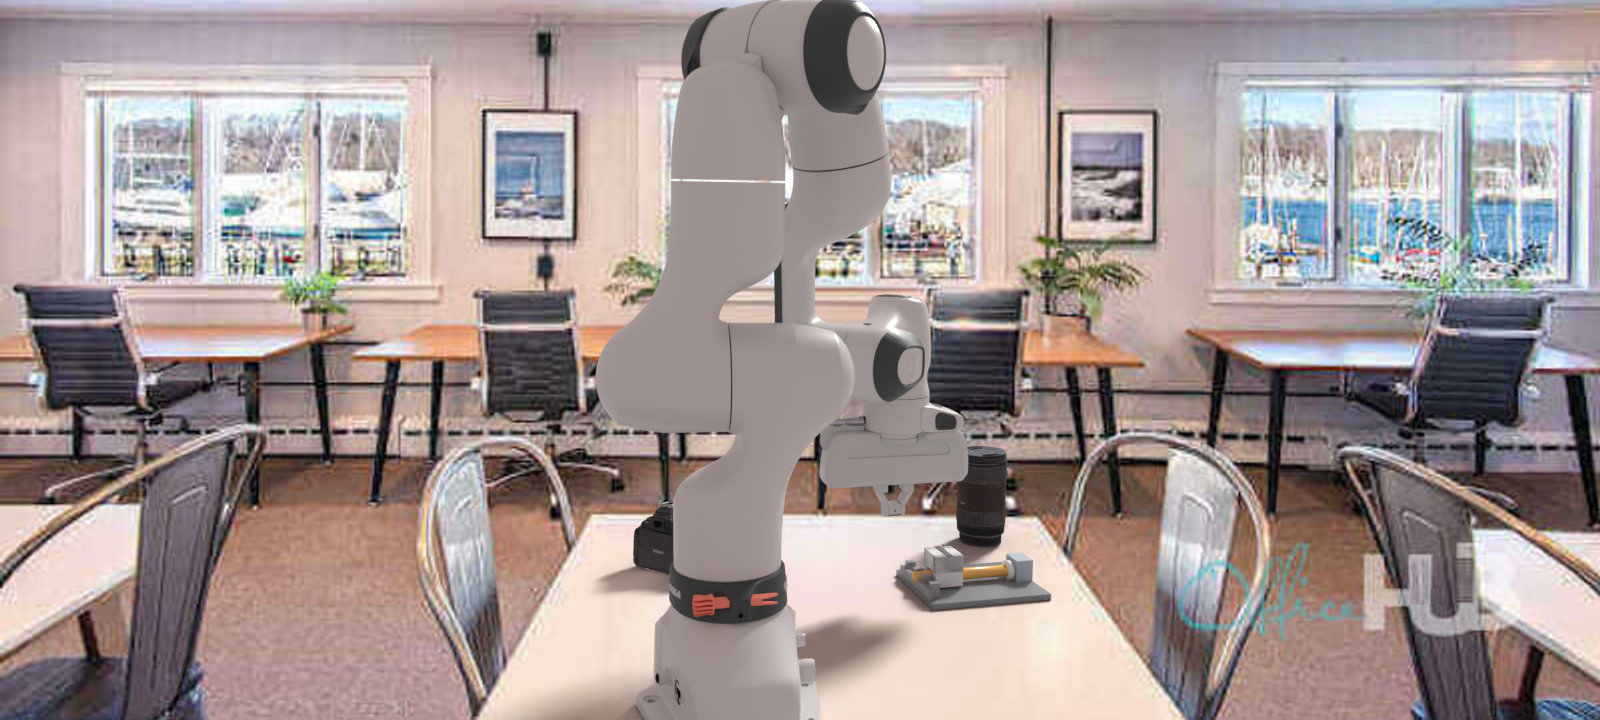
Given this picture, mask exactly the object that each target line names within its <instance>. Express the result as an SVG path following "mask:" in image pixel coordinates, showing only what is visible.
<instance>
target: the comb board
mask: <svg viewBox="0 0 1600 720" xmlns="http://www.w3.org/2000/svg"><path fill="white" fill-rule="evenodd" d="M916 565H917V562H916V560H914V559H906V560H905V563H904V564H900V569H896V570H895V571H896V574H895V575H896V576H897V578H899V580H901V582H903V583H904V584H905V585H906V586H907V587H908V588H909V589H910V590H911V591H912V592H913V593H914V594H915V595H916V596H917V597H919V599H920V600H921V601H923V602H924V604H926V605H927V607H929V608H930V609H931V610H932V611H939V610H951V609H961V608H973V607H982V606H983V607H985V606H993V605H995V606H996V605H1006V604H1009V605H1010V604H1017V603H1019V604H1020V603H1028V602H1029V603H1030V602H1031V601H1032V602H1039V601H1038V600H1043V601H1046V600H1045V599H1051V600H1052V593H1050V592H1049V591H1048V590H1046V589H1045V588H1044V587H1042V586H1040V585H1039V584H1037V583H1036V582H1034V581H1033V574H1034V572H1033V571H1034V560H1033V559H1032V558H1030V557H1029V556H1027V554H1024V553H1023V552H1014V553H1006V556H1005V560H1002V561H993V562H984V563H983V562H981V563H967V564H963V586H956V587H944V588H940V583H939V582H938V581H933V571H932V570H929V571H924V567H922V566H916Z"/></svg>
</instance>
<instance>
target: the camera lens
mask: <svg viewBox="0 0 1600 720" xmlns="http://www.w3.org/2000/svg"><path fill="white" fill-rule="evenodd" d="M967 450H968V473H967V475H966V476H965V478H964V479H963V480H962V481H956V483H957V484H956V486H957V487H956V488H957V492H956V494H957V495H956V506H955V507H956V511H955V512H956V513H955V516H956V517H955V520H956V529H957V532H958V535H959V536H958V538H959V541H960V542H962V543H964V544H966V545H971V546H976V547H977V546H978V547H993V546H997V545H1000V544H1001V543H1002V535H1003V534H1004V533H1005V526H1006V513H1007V511H1006V510H1007V509H1006V493H1007V492H1006V491H1007V481H1008V457H1007V451H1006V450H1005V449H1003V448H1001V447H997V446H990V445H969V446H967Z"/></svg>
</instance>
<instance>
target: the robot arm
mask: <svg viewBox="0 0 1600 720" xmlns="http://www.w3.org/2000/svg"><path fill="white" fill-rule="evenodd" d="M885 40H886V39H885V36H884V32H883V29H882V26H881V24H880V23H879V21H878V19H877V18H876V17H875V16H874V14H873V13H872V12H871V10H870V9H869V8H868V7H867V5H865V4H864V3H863V2H860V1H857V0H762V1H757V2H756V1H755V2H752V3H746V4H743V5H738V6H735V7H728V6H725V7H720V8H717V9H713V10H711V11H709V12H707V13H705V14H703V15H701V16H700V17H698V18H697V19H695V20H694V21H693V22H692V24H691V25H690V27H689V28H688V30H687V33H686V35H685V38H684V41H683V44H682V49H681V55H680V57H681V58H680V63H681V65H680V66H681V74H682V77H683V78H682V79H683V82H682V84H681V86H680V90H679V94H678V95H679V96H678V101H677V106H676V110H675V117H674V124H673V133H672V134H673V135H672V143H671V154H670V155H671V157H670V159H671V160H670V179H671V180H670V217H669V218H670V221H669V222H670V223H669V237H668V247H667V248H668V249H667V256H666V260H665V264H664V265H665V266H664V267H663V271H662V275H661V278H660V280H659V282H658V284H657V286H656V288H655V290H654V292H653V294H652V296H651V297H650V299H648V300H649V301H647V303H646V304H645V306H644V307H643V308H642V309H641V310H640V312H638V314H637V315H636V316H635V317H634V318H633V319H632V320H630V321H629V322H628V323H627V324H626V325H625V326H623V327H621V328H620V329H618V330H617V331H616V332H615V333H614V334H613V335H612V336H611V337H610V339H608V341H607V343H605V345H604V346H603V348H602V350H601V352H600V354H599V357H598V361H597V364H596V369H595V370H596V371H595V385H596V386H595V388H596V392H597V395H598V399H599V401H600V404H601V405H602V407H603V409H604V411H605V412H606V413H607V415H608V416H609V417H610V418H611V420H612V421H614V423H615V424H617V425H618V426H621V427H626V428H631V429H637V430H642V431H650V432H653V433H655V432H656V433H662V434H674V433H675V434H677V433H678V434H679V433H680V434H681V433H682V434H684V433H685V434H686V433H723V432H724V433H726V432H728V433H731V434H734V435H735V436H734V440H733V442H732V445H731V447H730V448H729V449H728V451H727V452H726V453H725V454H723V456H721V457H720V458H718V459H717V460H714V461H712V462H710V463H709V464H707V465H704V466H702V467H701V468H699V469H697V470H695V471H694V472H692V473H691V474H690V475H688V476H687V477H686V478H685V479H684V480H683V481H682V482H681V483H680V485H679V486H678V487H677V489H676V492H675V493H674V497H673V501H672V502H673V556H674V562H673V563H672V564H671V565H670V572H669V573H668V574H669V575H668V580H667V587H668V599H669V602H670V605H669V606H668V608H667V610H666V611H665V612H664V613H663V615H662V616H660V618H658V620H657V621H656V622H655V623H654V644H653V645H654V646H653V647H654V649H653V684H652V685H650V686H648V687H646V688H643V689H641V690H640V691H639V692H637V694H636V701H635V706H636V708H637V709H638V711H639V712H640V714H641V716H642V718H643V719H644V720H822V717H821V710H820V702H819V696H818V694H819V693H818V689H817V688H818V687H817V681H816V675H817V674H816V662H815V658H799V656H798V655H799V654H798V648H801V647H802V648H803V647H805V646H806V633H805V632H796V631H797V630H796V616H797V615H796V609H794V608H792V606H790V605H789V604H788V589H787V588H788V577H787V576H788V575H787V573H786V565H785V562H784V561H783V560H782V541H783V540H782V539H783V520H784V512H785V511H784V509H785V499H786V494H787V490H788V485H789V483H790V479H791V476H792V474H793V471H794V469H795V467H796V465H797V464H798V461H799V460H800V458H801V457H802V455H803V454H804V452H805V450H807V448H808V446H809V445H810V444H811V443H812V442H813V440H815V438H816V437H818V435H819V443H820V446H821V448H822V449H821V455H820V462H819V478H820V479H821V481H822V482H823V484H824V485H826V486H827V487H828V488H829V489H841V488H843V489H844V488H845V489H846V488H861V487H864V488H865V487H872V490H873V491H874V493H875V495H876V497H877V498H878V500H879V502H880V514H881V515H882V517H884V518H886V517H888V518H889V517H903V516H905V515H906V504H908V502H909V500H910V498H911V496H913V494H914V491H915V489H914V488H915V485H916V484H918V485H919V484H931V483H932V484H935V483H936V484H937V483H953V482H956V483H957V481H962V480H963V479H964V478H965V476H966V475H967V473H968V450H967V447H968V442H967V438H966V436H965V435H964V434H963V433H962V432H961V430H962V429H963V427H964V422H965V420H964V416H962V414H959V413H958V412H956V411H955V410H952V409H951V408H949V407H945V406H942V405H940V404H938V403H935V402H930V389H929V385H928V372H929V368H930V365H931V358H932V357H931V356H932V353H931V352H932V342H931V341H932V340H931V339H932V338H931V337H932V336H931V324H930V323H931V321H930V316H929V308H928V305H927V304H926V302H925V301H923V300H922V299H921V298H918V297H914V296H911V295H910V296H909V295H903V294H890V293H889V294H886V293H885V294H878V295H874V296H872V297H871V298H870V301H869V305H868V310H867V317H866V320H865V321H863V322H862V323H859V324H856V323H855V324H854V323H840V322H837V323H836V322H828V321H825V320H823V319H821V317H819V316H818V314H817V313H816V262H817V261H816V260H817V257H818V253H819V252H820V250H821V249H823V248H825V247H828V246H830V245H833V244H835V243H837V242H840V241H842V240H845V239H847V238H849V237H851V236H853V235H855V234H857V233H859V232H861V231H862V230H864V229H865V228H866V227H868V226H869V225H870V224H873V222H874V221H875V220H876V219H877V218H878V217H879V216H880V215H881V214H882V213H883V211H884V209H885V208H886V206H887V204H888V201H889V199H890V195H891V189H892V170H891V169H892V168H891V161H890V152H889V144H888V137H887V131H886V125H885V119H884V116H883V115H884V114H883V111H882V108H881V103H880V99H879V96H878V92H877V91H878V90H879V88H880V86H881V83H882V80H883V78H884V74H885V70H886V64H887V46H886V41H885ZM784 116H787V130H788V142H789V154H790V161H791V167H792V168H791V169H792V174H793V175H792V176H793V177H792V179H793V180H792V190H791V195H790V197H789V201H788V202H786V183H785V181H786V156H785V155H786V154H785V153H786V152H785V151H786V150H785V140H784V138H785V137H784V130H783V121H782V120H783V118H784ZM683 180H684V181H683ZM687 180H689V181H687ZM690 180H691V181H690ZM692 180H693V181H692ZM694 180H699V181H694ZM700 180H703V181H700ZM704 180H706V181H704ZM707 180H712V181H707ZM714 180H715V181H714ZM720 180H721V181H720ZM737 181H738V182H737ZM743 181H744V182H743ZM746 181H747V182H746ZM749 181H750V182H749ZM751 181H755V182H751ZM756 181H759V182H756ZM761 181H762V182H761ZM764 181H765V182H764ZM766 181H767V182H766ZM772 274H773V283H774V284H773V289H774V290H773V294H774V296H773V297H774V298H773V299H774V300H773V301H774V304H773V305H774V322H728V321H723V320H721V319H720V314H721V311H722V309H723V306H724V305H725V303H726V302H727V301H728V300H729V299H730V298H731V297H733V296H735V295H736V294H737V293H740V292H742V291H745V290H746V289H748V288H751V287H753V286H755V285H756V284H758V283H760V282H762V281H763V280H766V278H768V277H770V275H772ZM850 401H854V402H855V401H861V402H862V416H849V417H841V415H843V413H844V412H845V410H846V409H847V407H849V403H850ZM897 485H898V487H899V489H901V490H900V492H899V495H898V497H897V498H896V500H888V498H887V497H886V495H885V494H887V493H889V486H897Z"/></svg>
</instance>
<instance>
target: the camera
mask: <svg viewBox="0 0 1600 720" xmlns="http://www.w3.org/2000/svg"><path fill="white" fill-rule="evenodd" d="M632 550H633V551H632V554H633V555H632V556H633V558H632V559H633V560H632V561H633V564H634V565H635V567H637V568H638V567H639V568H643V569H646V570H647V569H648V570H652V571H656V572H661V573H665V574H669V572H670V565H671V564H672V563H673V562H674V556H673V501H665V502H662V503H661V504H660V506H659V507H658V508H657V509H655V512H654V513H653V514H652V515H650V516H648V517H646V518H645V519H644V520H642V521H641V523H640V525H639V526H637V527H636V528H635V529H634V531H633V548H632Z"/></svg>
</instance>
